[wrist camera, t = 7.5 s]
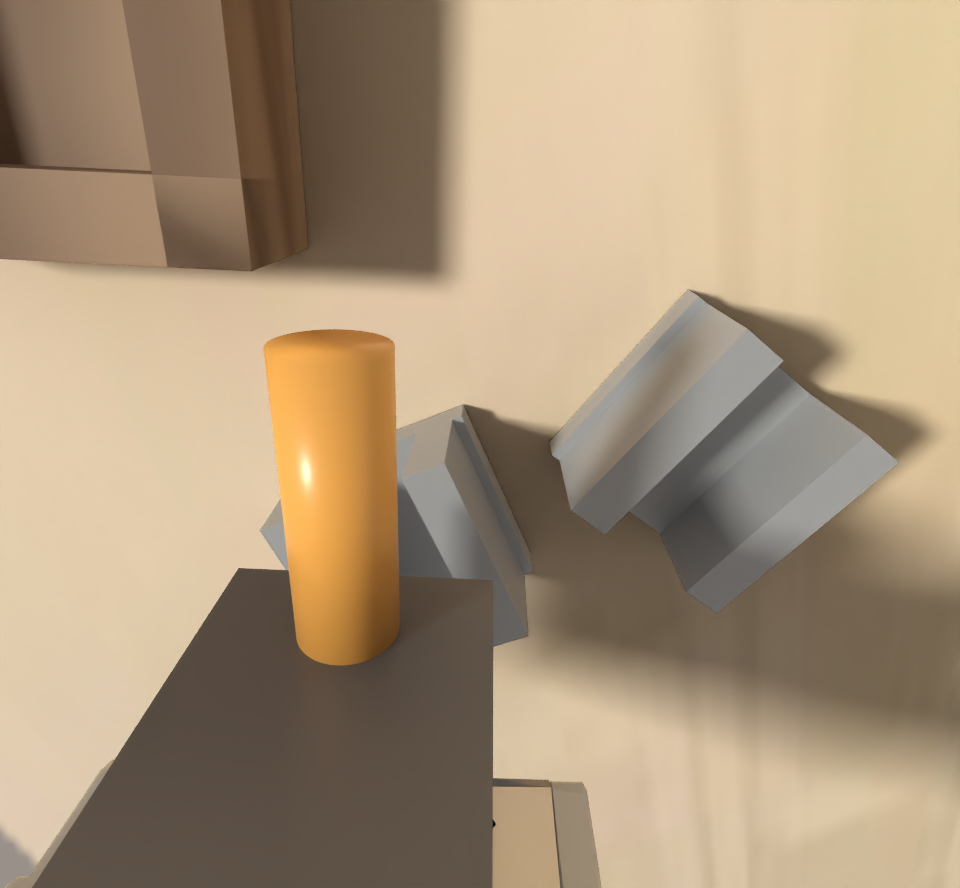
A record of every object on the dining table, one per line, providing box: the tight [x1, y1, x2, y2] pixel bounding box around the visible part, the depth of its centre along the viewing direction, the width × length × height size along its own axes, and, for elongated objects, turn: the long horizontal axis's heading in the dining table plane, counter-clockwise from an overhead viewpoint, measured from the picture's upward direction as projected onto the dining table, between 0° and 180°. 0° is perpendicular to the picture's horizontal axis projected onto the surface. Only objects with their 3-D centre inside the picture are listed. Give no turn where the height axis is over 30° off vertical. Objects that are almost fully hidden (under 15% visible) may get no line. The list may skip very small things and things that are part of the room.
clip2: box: [260, 405, 533, 647], centre depth 15 cm, size 5×5×3 cm
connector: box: [32, 330, 493, 888], centre depth 7 cm, size 4×10×5 cm, turn 178°
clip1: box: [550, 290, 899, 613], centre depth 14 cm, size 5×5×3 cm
